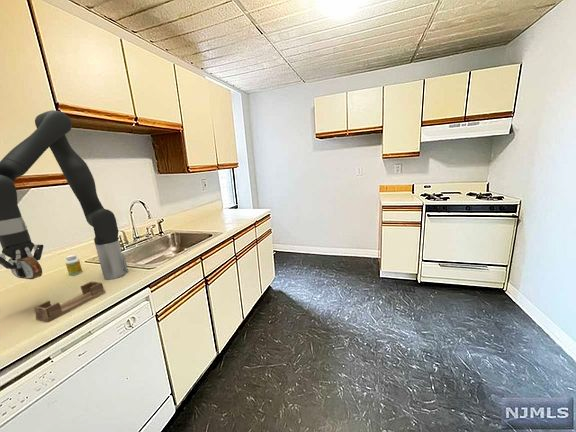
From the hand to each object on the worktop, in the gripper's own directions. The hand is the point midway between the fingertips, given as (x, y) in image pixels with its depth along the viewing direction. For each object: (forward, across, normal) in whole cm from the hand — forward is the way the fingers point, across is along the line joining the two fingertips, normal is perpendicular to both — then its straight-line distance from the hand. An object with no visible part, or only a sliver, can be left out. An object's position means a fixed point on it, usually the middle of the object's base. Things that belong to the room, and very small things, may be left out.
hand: (28, 274), depth 94 cm
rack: (+14, -4, +12) cm, 19 cm away
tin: (+1, 0, 0) cm, 1 cm away
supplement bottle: (+15, -27, -23) cm, 38 cm away
